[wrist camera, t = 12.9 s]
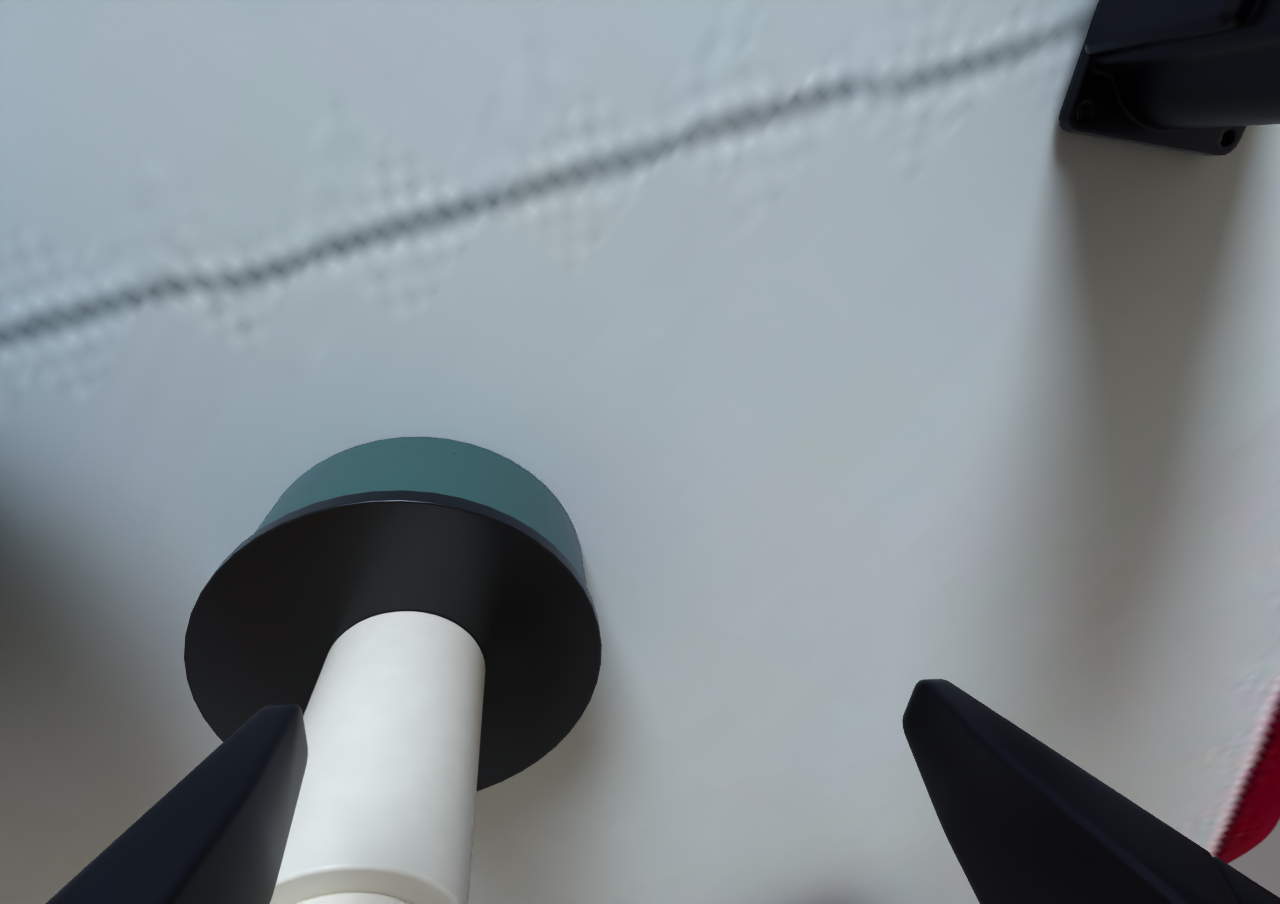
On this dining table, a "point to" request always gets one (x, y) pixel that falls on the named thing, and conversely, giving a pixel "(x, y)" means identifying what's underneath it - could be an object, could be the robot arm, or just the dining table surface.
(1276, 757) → the dining table surface
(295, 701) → the enamel tin
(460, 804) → the bottle
